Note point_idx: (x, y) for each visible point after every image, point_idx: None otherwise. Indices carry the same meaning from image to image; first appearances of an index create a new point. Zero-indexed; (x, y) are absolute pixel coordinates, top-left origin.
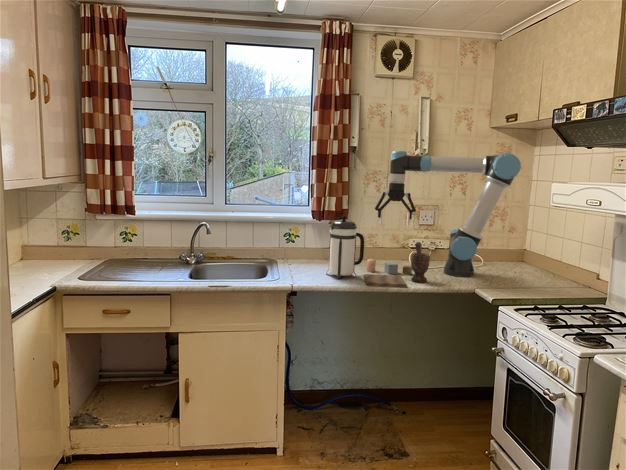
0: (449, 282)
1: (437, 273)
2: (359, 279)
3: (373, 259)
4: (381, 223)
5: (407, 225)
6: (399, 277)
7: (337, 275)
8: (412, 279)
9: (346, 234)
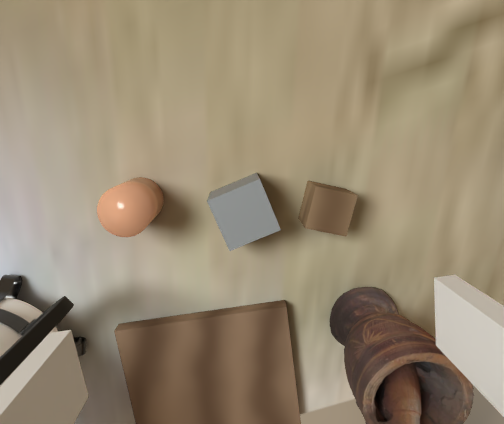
0: None
1: (480, 141)
2: (106, 366)
3: (134, 198)
4: (77, 409)
5: (439, 347)
6: (279, 341)
7: None
8: (334, 336)
9: None
